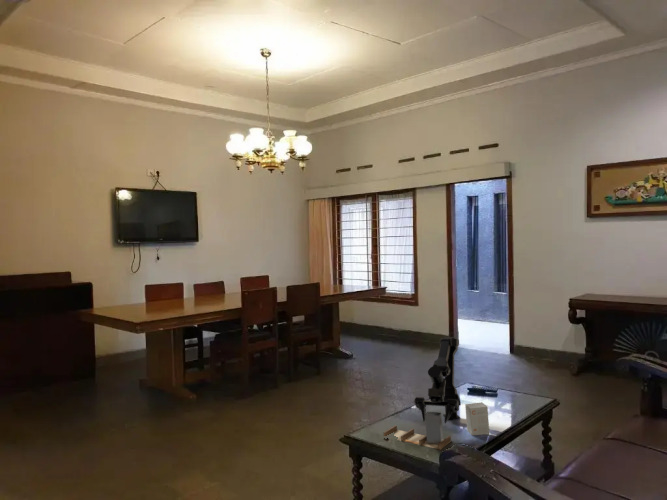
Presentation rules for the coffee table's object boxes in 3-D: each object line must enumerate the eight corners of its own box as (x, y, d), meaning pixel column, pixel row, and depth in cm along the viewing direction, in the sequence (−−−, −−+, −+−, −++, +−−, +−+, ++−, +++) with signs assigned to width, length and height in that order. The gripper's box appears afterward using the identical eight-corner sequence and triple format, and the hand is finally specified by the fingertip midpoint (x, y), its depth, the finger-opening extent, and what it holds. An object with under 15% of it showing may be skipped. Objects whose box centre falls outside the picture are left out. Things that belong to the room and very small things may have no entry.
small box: (484, 430, 230) (482, 401, 230) (489, 435, 224) (487, 406, 224) (466, 432, 230) (464, 403, 230) (472, 437, 223) (470, 408, 223)
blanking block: (427, 443, 218) (425, 414, 218) (429, 440, 221) (427, 411, 221) (441, 445, 215) (439, 415, 215) (443, 441, 219) (441, 412, 219)
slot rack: (383, 438, 229) (382, 432, 229) (395, 431, 237) (394, 425, 237) (440, 451, 211) (440, 444, 211) (451, 443, 219) (451, 436, 219)
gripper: (413, 379, 228) (408, 411, 218) (456, 380, 220) (452, 414, 210) (419, 391, 235) (414, 423, 225) (460, 393, 227) (457, 427, 217)
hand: (434, 422), depth 219 cm, fingers open, 9 cm apart
